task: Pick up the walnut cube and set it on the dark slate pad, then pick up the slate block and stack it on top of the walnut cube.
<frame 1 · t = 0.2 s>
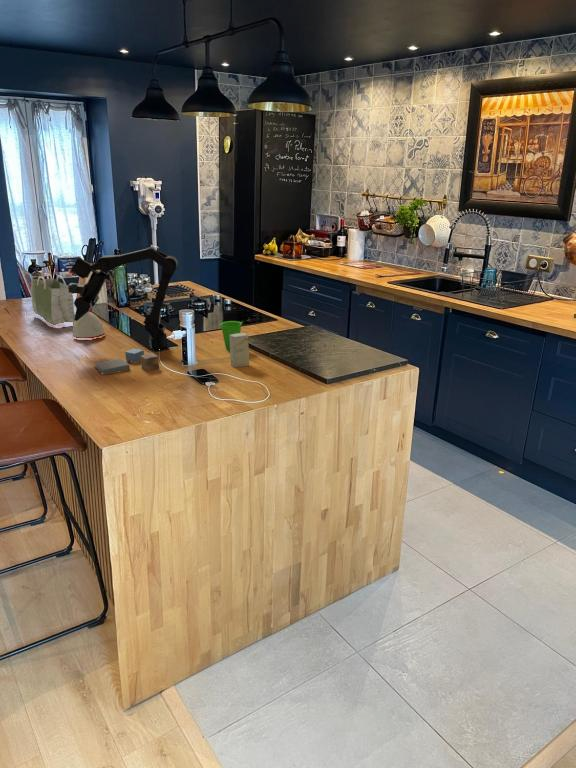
hand: (78, 317, 237), 15 cm above the countertop, fingers open, 9 cm apart
cup: (232, 349, 243), on the countertop
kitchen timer: (89, 337, 266), on the countertop
slate block: (135, 360, 232), on the countertop
skincare box: (240, 365, 224), on the countertop
grocery bag: (57, 321, 295), on the countertop
walnut cube: (150, 368, 222), on the countertop
slate pad: (112, 368, 222), on the countertop
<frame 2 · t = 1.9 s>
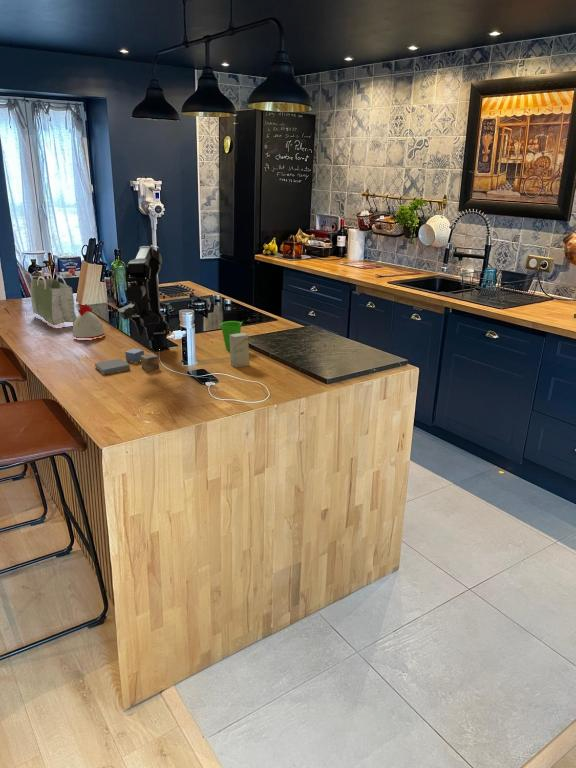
hand: (145, 337, 218), 12 cm above the countertop, fingers open, 9 cm apart
nothing on the countertop moved.
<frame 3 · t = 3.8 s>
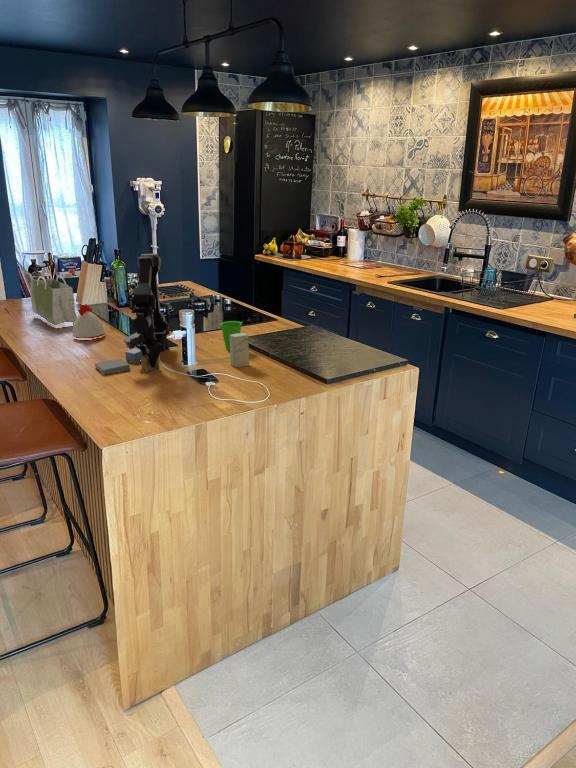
hand: (150, 365, 222), 1 cm above the countertop, fingers closed on walnut cube, 5 cm apart
walnut cube: (150, 368, 222), on the countertop, touching gripper
everything else where it was.
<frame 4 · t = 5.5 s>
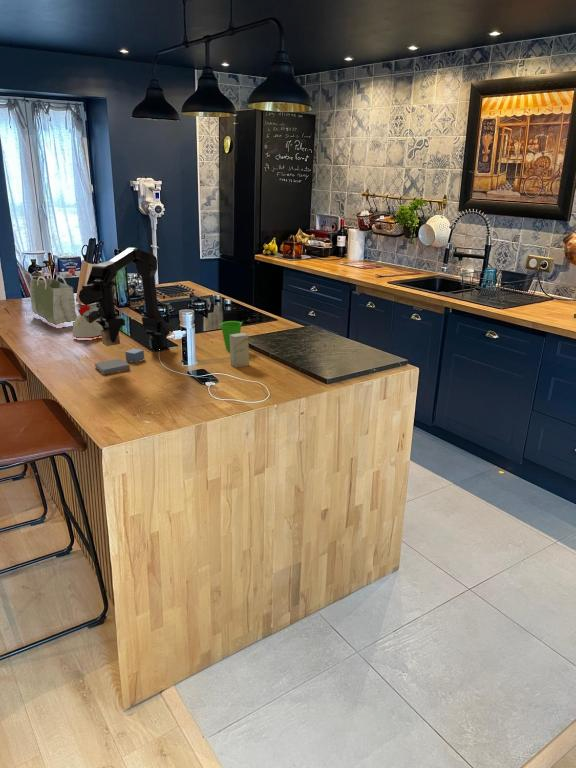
hand: (110, 340, 218), 11 cm above the countertop, fingers closed on walnut cube, 5 cm apart
walnut cube: (111, 343, 218), point 10 cm above the countertop, touching gripper
everything else where it was.
when the fingers open (4 cm above the countertop, at t = 7.2 s): walnut cube stays where it is, resting on slate pad.
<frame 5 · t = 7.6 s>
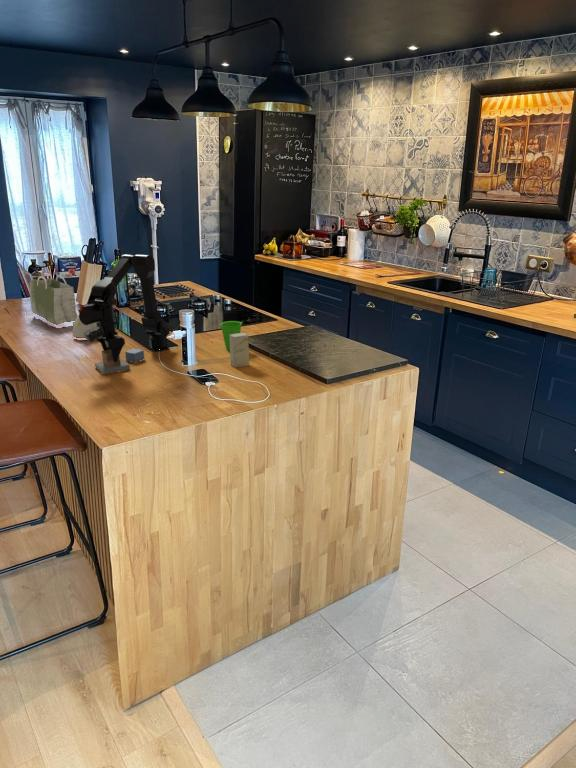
hand: (111, 358, 220), 4 cm above the countertop, fingers open, 9 cm apart
walnut cube: (111, 363, 221), point 2 cm above the countertop, touching slate pad
everything else where it was.
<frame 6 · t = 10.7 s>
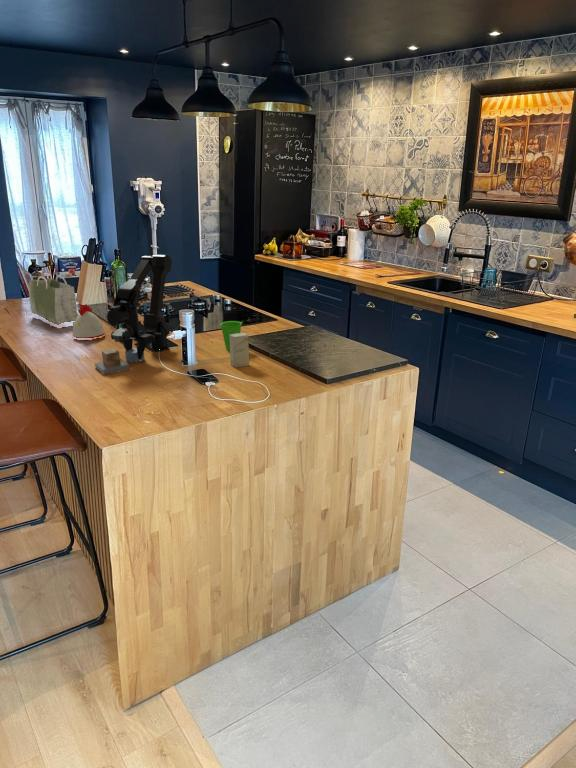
hand: (135, 357, 231), 1 cm above the countertop, fingers closed on slate block, 5 cm apart
slate block: (135, 360, 232), on the countertop, touching gripper
everything else where it was.
when the fingers open (9 cm above the countertop, at t = 13.5 s): slate block stays where it is, resting on walnut cube.
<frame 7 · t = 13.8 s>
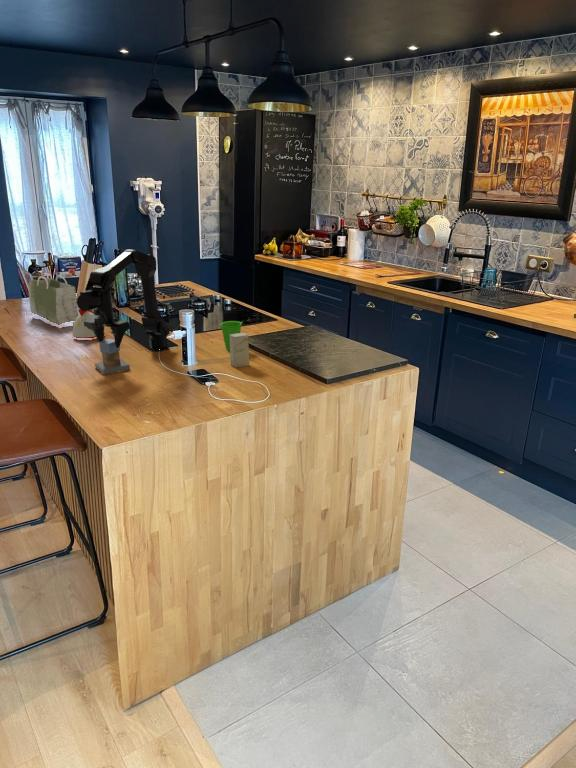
hand: (109, 346, 219), 9 cm above the countertop, fingers open, 8 cm apart
slate block: (110, 351, 219), point 7 cm above the countertop, touching walnut cube
walnut cube: (111, 363, 221), point 2 cm above the countertop, touching slate block, slate pad
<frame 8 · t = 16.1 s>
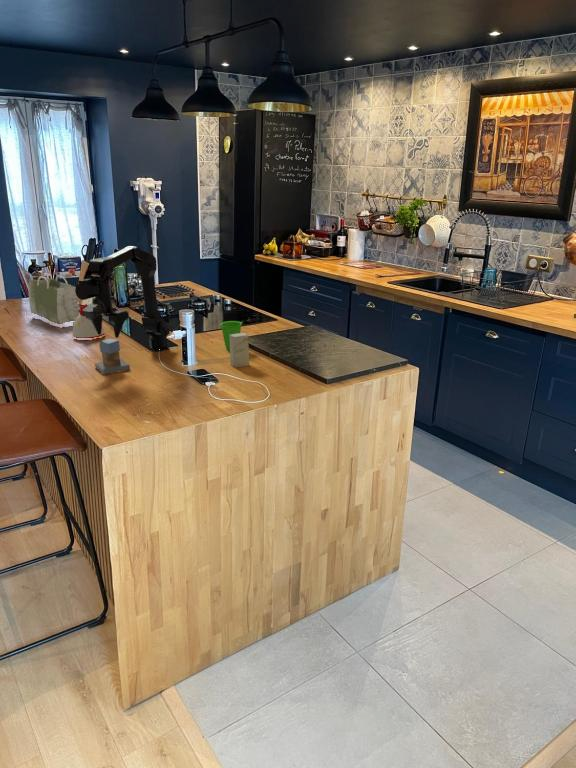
hand: (108, 336, 217), 13 cm above the countertop, fingers open, 9 cm apart
at the end: walnut cube 0.0 cm off-centre on the slate pad, point 2.0 cm above the slate pad's base; slate block 0.0 cm off-centre on the walnut cube, point 5.0 cm above the walnut cube's base; slate block tilted 0° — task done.
